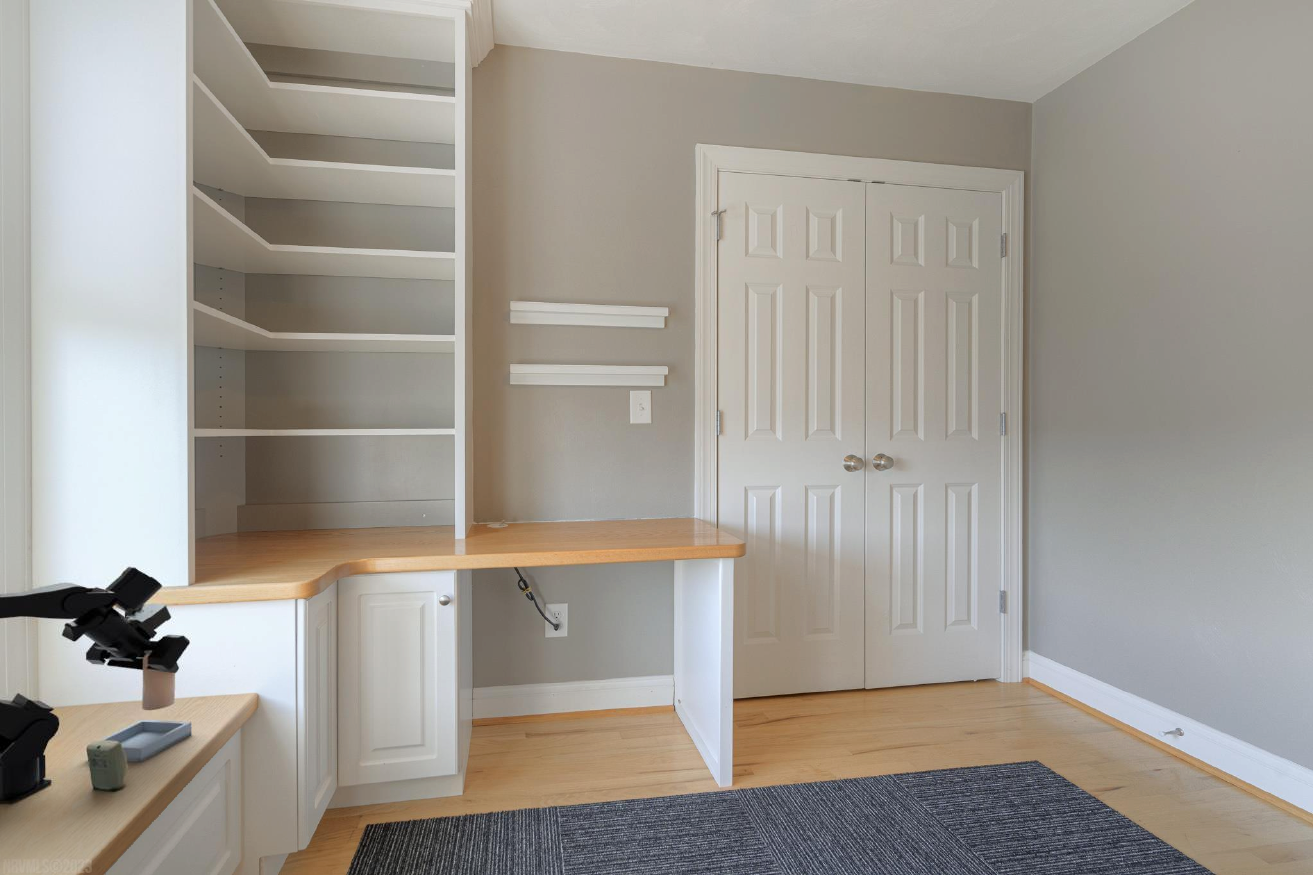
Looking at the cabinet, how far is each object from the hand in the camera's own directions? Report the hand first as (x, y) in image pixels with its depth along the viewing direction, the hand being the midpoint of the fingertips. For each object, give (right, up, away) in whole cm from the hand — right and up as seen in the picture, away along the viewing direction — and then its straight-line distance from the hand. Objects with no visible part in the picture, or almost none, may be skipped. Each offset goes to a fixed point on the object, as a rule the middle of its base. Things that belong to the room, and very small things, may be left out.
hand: (165, 669), depth 131 cm
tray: (0, -13, -6) cm, 14 cm away
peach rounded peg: (0, -7, -1) cm, 7 cm away
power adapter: (+6, -13, -21) cm, 26 cm away
